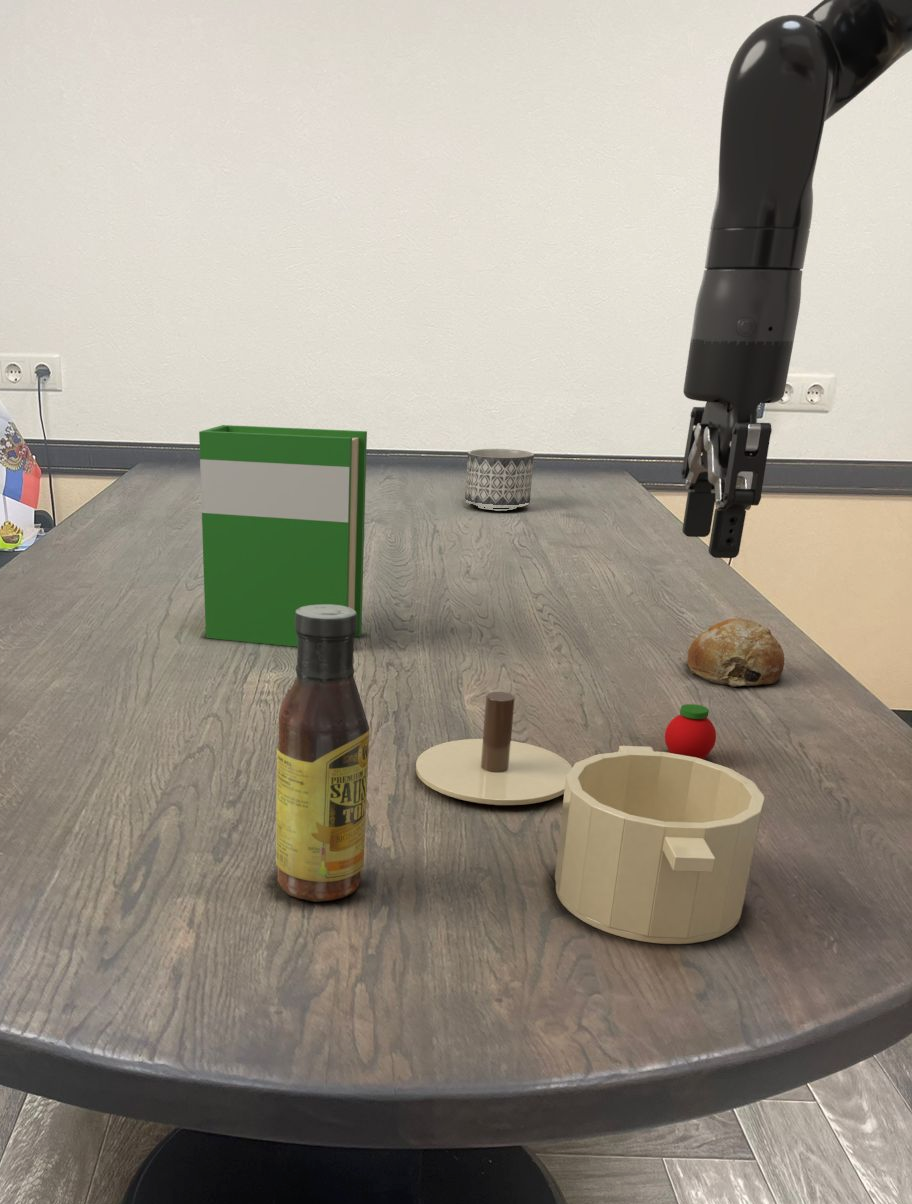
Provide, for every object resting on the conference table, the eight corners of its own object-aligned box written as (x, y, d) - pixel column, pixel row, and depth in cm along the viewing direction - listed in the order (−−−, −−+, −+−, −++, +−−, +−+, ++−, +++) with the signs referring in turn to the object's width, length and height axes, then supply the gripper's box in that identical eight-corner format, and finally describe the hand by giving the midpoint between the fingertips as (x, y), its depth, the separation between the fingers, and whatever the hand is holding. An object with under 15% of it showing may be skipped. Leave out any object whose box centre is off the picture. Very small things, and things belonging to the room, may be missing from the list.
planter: (526, 503, 223) (531, 449, 219) (531, 514, 212) (536, 458, 207) (463, 501, 224) (467, 448, 220) (465, 512, 213) (469, 456, 209)
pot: (704, 842, 86) (722, 739, 82) (778, 971, 69) (805, 850, 66) (540, 836, 86) (551, 734, 83) (575, 963, 70) (590, 843, 66)
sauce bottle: (342, 914, 75) (349, 630, 67) (260, 894, 77) (257, 617, 69) (377, 873, 80) (388, 605, 72) (300, 855, 83) (301, 594, 75)
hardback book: (361, 634, 137) (367, 431, 126) (345, 651, 130) (349, 438, 120) (227, 622, 141) (222, 424, 131) (205, 637, 135) (199, 431, 125)
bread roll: (693, 714, 122) (717, 660, 116) (668, 651, 128) (688, 597, 122) (780, 712, 123) (808, 659, 117) (750, 649, 129) (775, 596, 123)
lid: (561, 751, 102) (570, 673, 99) (584, 815, 90) (595, 727, 87) (413, 747, 103) (417, 669, 100) (417, 809, 91) (421, 722, 87)
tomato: (704, 750, 103) (713, 700, 101) (717, 769, 99) (726, 717, 97) (656, 749, 103) (664, 699, 101) (667, 767, 99) (675, 716, 97)
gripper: (825, 339, 79) (782, 566, 85) (763, 332, 91) (729, 530, 98) (718, 337, 79) (683, 564, 86) (671, 331, 92) (644, 528, 99)
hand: (708, 546), depth 92 cm, fingers open, 8 cm apart
